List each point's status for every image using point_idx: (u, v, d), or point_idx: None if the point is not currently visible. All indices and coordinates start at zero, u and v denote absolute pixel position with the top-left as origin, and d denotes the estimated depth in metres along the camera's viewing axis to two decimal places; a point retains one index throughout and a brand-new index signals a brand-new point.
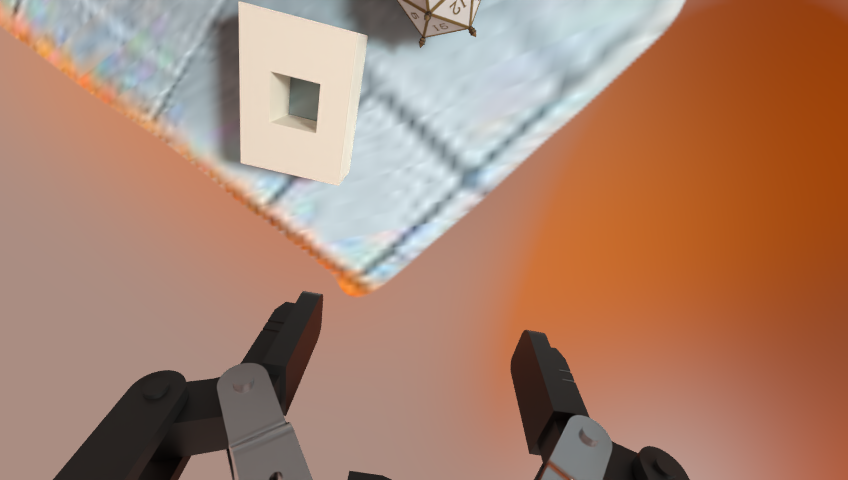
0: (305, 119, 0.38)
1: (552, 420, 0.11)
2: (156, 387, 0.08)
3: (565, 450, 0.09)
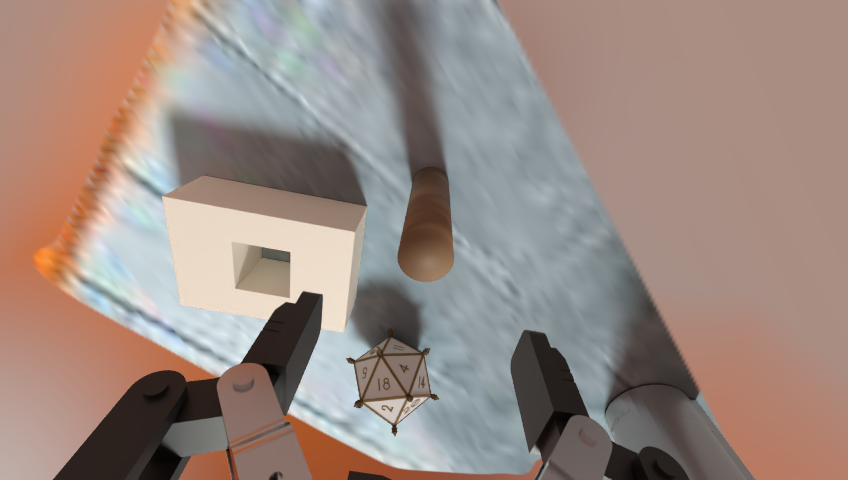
0: None
1: (552, 420, 0.11)
2: (156, 387, 0.08)
3: (565, 450, 0.09)
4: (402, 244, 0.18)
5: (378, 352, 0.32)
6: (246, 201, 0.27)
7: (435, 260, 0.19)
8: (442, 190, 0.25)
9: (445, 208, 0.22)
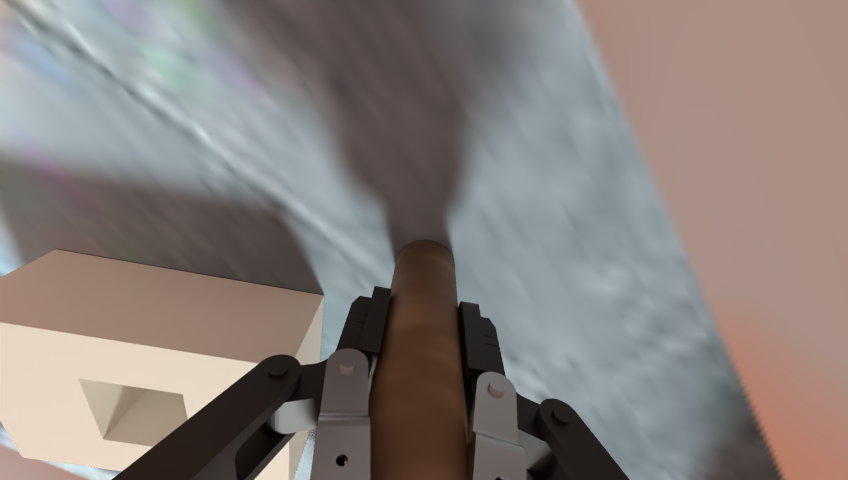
0: None
1: (468, 377, 0.11)
2: (278, 369, 0.10)
3: (482, 412, 0.10)
4: None
5: None
6: (106, 307, 0.16)
7: None
8: (445, 305, 0.13)
9: (452, 368, 0.11)
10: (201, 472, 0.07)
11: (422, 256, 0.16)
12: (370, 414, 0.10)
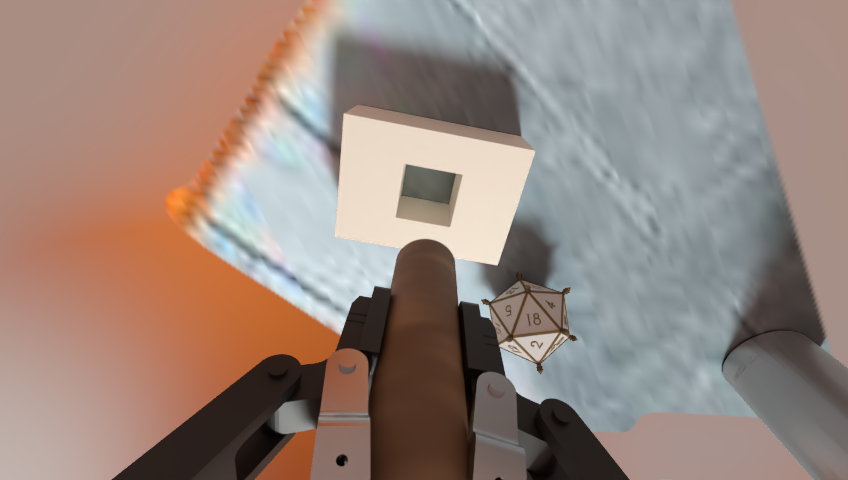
0: None
1: (468, 377, 0.11)
2: (278, 369, 0.10)
3: (482, 412, 0.10)
4: None
5: (527, 287, 0.31)
6: (417, 123, 0.27)
7: None
8: (446, 304, 0.13)
9: (453, 367, 0.11)
10: (201, 472, 0.07)
11: (422, 255, 0.16)
12: (370, 412, 0.10)
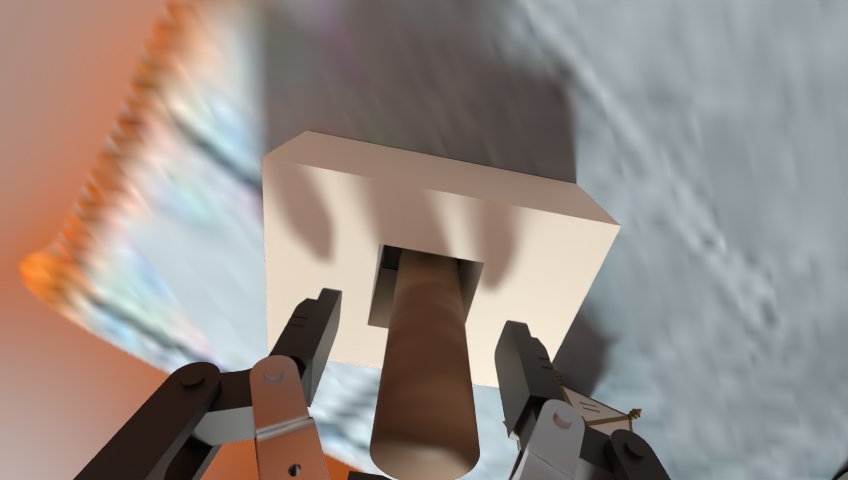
0: None
1: (529, 405, 0.11)
2: (193, 378, 0.09)
3: (542, 436, 0.09)
4: (378, 433, 0.09)
5: None
6: (404, 170, 0.15)
7: (443, 456, 0.10)
8: (449, 269, 0.15)
9: (456, 315, 0.13)
10: None
11: None
12: (390, 348, 0.12)
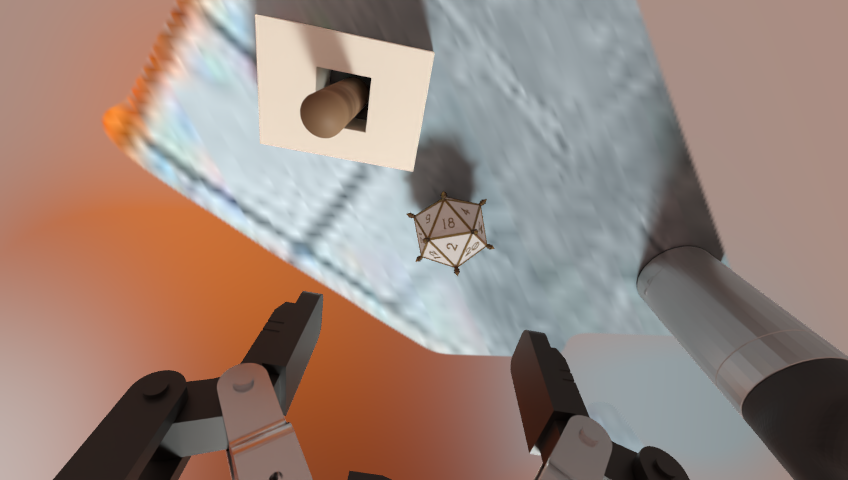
0: None
1: (552, 420, 0.11)
2: (157, 387, 0.08)
3: (565, 450, 0.09)
4: (302, 103, 0.23)
5: (443, 194, 0.34)
6: (329, 29, 0.29)
7: (330, 117, 0.24)
8: (354, 85, 0.30)
9: (349, 91, 0.27)
10: None
11: (349, 78, 0.32)
12: None
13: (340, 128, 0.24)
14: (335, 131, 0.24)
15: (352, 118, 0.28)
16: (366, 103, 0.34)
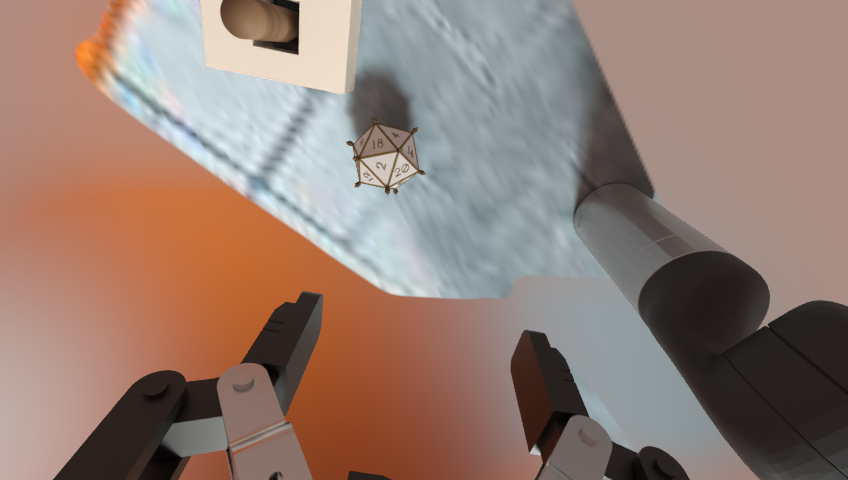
0: None
1: (552, 420, 0.11)
2: (156, 388, 0.08)
3: (565, 450, 0.09)
4: (221, 4, 0.27)
5: (373, 118, 0.37)
6: None
7: (246, 18, 0.27)
8: (285, 9, 0.33)
9: (274, 7, 0.31)
10: None
11: None
12: None
13: (256, 29, 0.28)
14: (252, 32, 0.28)
15: (278, 33, 0.31)
16: None
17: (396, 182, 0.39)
